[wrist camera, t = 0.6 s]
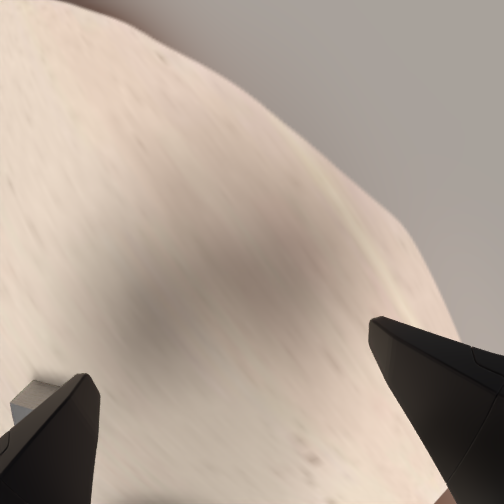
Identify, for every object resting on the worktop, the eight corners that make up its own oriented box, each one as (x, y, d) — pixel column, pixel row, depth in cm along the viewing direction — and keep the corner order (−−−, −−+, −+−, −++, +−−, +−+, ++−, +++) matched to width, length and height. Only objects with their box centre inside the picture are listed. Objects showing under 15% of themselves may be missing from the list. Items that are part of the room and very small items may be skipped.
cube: (88, 437, 19) (76, 469, 15) (40, 426, 18) (21, 453, 14) (83, 391, 19) (66, 418, 15) (33, 379, 18) (9, 402, 14)
